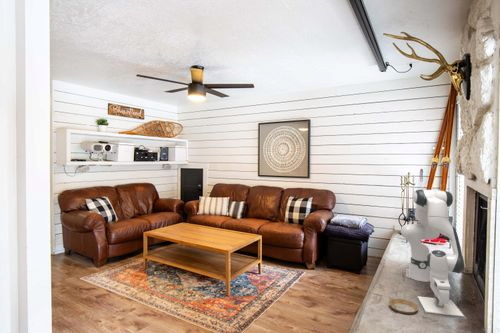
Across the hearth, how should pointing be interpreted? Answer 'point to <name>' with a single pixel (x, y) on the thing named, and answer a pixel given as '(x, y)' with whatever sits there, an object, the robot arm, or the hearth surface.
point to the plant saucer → (402, 303)
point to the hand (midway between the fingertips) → (439, 303)
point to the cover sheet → (439, 307)
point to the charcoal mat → (441, 314)
